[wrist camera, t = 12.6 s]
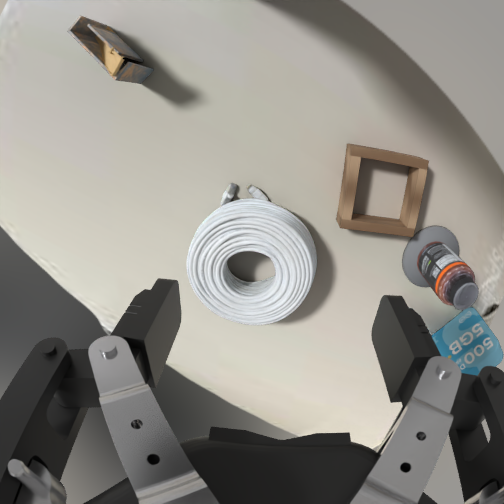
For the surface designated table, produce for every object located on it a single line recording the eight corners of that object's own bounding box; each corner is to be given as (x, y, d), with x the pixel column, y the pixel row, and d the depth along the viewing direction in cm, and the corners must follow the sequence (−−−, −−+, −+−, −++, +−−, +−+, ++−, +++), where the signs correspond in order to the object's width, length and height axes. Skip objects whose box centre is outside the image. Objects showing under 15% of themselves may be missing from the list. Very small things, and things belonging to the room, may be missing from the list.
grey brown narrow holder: (157, 67, 35) (124, 58, 26) (141, 84, 36) (106, 78, 27) (111, 24, 32) (73, 9, 23) (97, 39, 33) (58, 28, 24)
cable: (235, 170, 40) (228, 179, 35) (340, 242, 43) (349, 262, 38) (174, 267, 47) (161, 288, 41) (269, 324, 50) (267, 349, 44)
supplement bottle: (447, 271, 42) (480, 312, 32) (415, 278, 43) (444, 322, 33) (449, 236, 40) (487, 272, 30) (415, 242, 41) (449, 281, 31)
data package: (470, 303, 45) (501, 345, 34) (477, 316, 46) (506, 358, 35) (419, 343, 49) (441, 391, 38) (429, 355, 50) (449, 401, 39)
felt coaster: (411, 221, 40) (413, 222, 40) (464, 230, 40) (466, 231, 39) (395, 282, 45) (396, 285, 44) (446, 286, 44) (447, 288, 44)
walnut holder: (347, 143, 37) (352, 145, 34) (418, 157, 36) (428, 160, 34) (336, 219, 41) (340, 228, 38) (404, 228, 41) (412, 237, 38)
